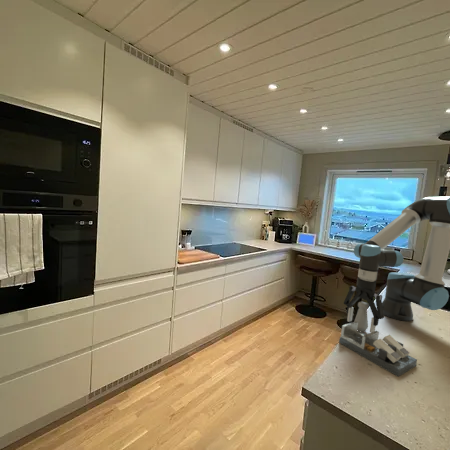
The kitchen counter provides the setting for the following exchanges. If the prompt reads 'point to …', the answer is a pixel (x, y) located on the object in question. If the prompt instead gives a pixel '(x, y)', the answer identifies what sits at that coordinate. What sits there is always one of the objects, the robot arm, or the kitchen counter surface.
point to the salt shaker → (362, 316)
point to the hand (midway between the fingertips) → (360, 326)
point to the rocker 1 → (390, 352)
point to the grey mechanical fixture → (374, 349)
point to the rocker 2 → (399, 349)
